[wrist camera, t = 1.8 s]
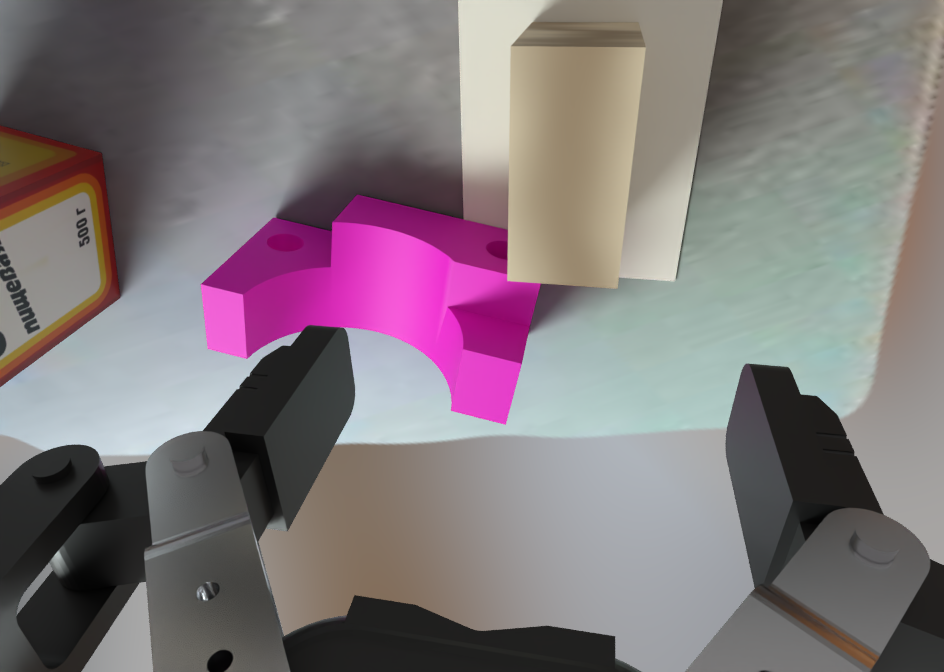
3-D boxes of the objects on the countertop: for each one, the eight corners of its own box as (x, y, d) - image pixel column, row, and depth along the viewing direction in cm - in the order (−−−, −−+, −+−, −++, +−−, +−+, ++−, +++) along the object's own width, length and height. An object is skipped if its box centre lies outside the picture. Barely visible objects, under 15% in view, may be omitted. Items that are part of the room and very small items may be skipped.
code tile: (465, 266, 35) (464, 267, 35) (457, -59, 27) (456, -58, 27) (674, 280, 33) (675, 281, 33) (733, -63, 25) (734, -63, 25)
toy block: (550, 239, 33) (533, 317, 27) (524, 336, 36) (505, 424, 30) (272, 174, 34) (195, 235, 28) (275, 275, 37) (207, 348, 31)
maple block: (526, 218, 32) (507, 280, 27) (532, 22, 28) (510, 46, 22) (616, 223, 32) (617, 288, 26) (638, 22, 27) (646, 47, 21)
